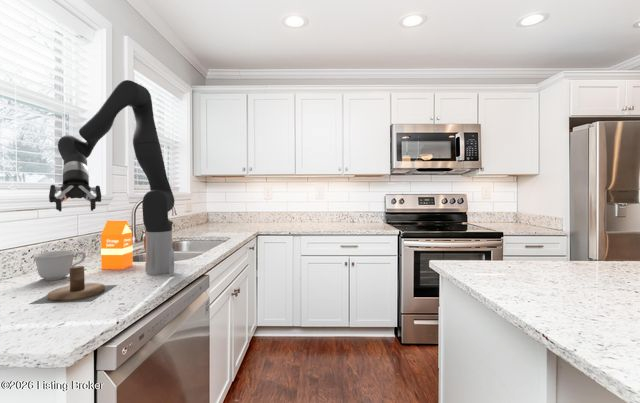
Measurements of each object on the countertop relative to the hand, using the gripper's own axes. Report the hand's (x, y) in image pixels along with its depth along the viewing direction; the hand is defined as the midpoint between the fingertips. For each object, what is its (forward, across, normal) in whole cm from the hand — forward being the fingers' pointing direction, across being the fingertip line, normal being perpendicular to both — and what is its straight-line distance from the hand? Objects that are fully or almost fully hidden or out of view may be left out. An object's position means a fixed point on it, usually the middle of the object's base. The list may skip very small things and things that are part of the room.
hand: (76, 209), depth 106 cm
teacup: (+9, -5, +29) cm, 31 cm away
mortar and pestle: (+5, +29, +33) cm, 44 cm away
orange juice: (0, +14, +38) cm, 40 cm away
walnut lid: (+26, 0, +10) cm, 28 cm away
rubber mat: (+27, 0, +10) cm, 29 cm away
